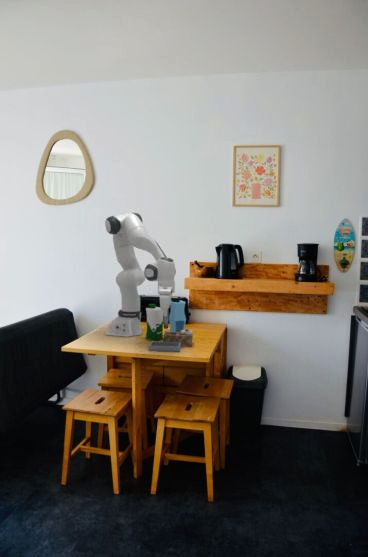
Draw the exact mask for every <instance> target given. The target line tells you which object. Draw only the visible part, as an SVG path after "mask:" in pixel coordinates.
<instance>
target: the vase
mask: <svg viewBox="0 0 368 557" xmlns="http://www.w3.org/2000/svg"><path fill="white" fill-rule="evenodd" d="M178 301H179V302H174V301H172V300H171V304H170V312H169V314H168V323H169V332H181V330H185V328H186V327H185V326H186V321H187V317H186V313H185V307H186V301H185V300H184V301H183V300H178Z"/></svg>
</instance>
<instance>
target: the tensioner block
mask: <svg viewBox="0 0 368 557" xmlns="http://www.w3.org/2000/svg"><path fill="white" fill-rule="evenodd" d="M193 335H194V334H193V330H192V329H188V328H186V329H185V330H181V332H170V330H169V331H168V330H167V331H166V330H165V331H164V333H163V339H162V340H163V341H162V342H181V347H182V348H192V347H193Z"/></svg>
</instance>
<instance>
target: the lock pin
mask: <svg viewBox="0 0 368 557" xmlns="http://www.w3.org/2000/svg"><path fill="white" fill-rule="evenodd" d="M169 309H171V306H170V305H169ZM169 309H167V316H164V315H163V329H166V330H167V329H169Z"/></svg>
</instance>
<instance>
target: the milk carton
mask: <svg viewBox="0 0 368 557" xmlns="http://www.w3.org/2000/svg"><path fill="white" fill-rule="evenodd" d="M145 311H146V312H145V313H146V334H145V340H149V341H157V342H158V341H159V340H160V341H161V340H163V335H164V333H163V332H164V330H163V329H164V312H163V309H161V308H160V306H159V307H158V306H156V303H149V304H148V307H146V308H145Z"/></svg>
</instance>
